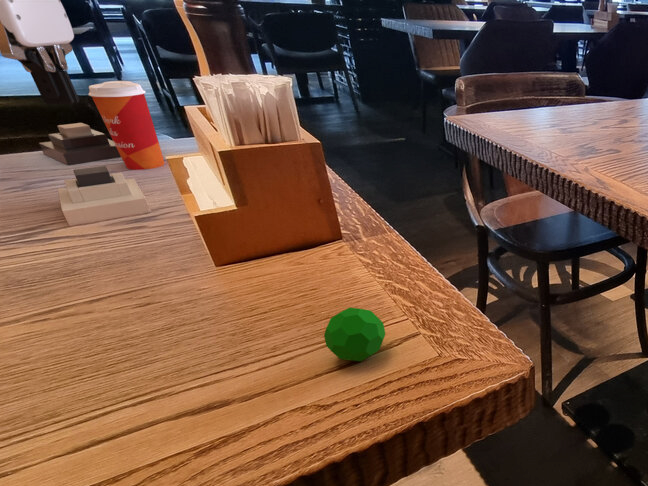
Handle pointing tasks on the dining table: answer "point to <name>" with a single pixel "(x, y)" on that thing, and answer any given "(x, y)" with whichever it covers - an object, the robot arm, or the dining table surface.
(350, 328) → the polyhedron
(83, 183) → the front key
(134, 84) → the paper cup
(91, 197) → the front block
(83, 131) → the back key
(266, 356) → the dining table surface
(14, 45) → the robot arm
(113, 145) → the block
